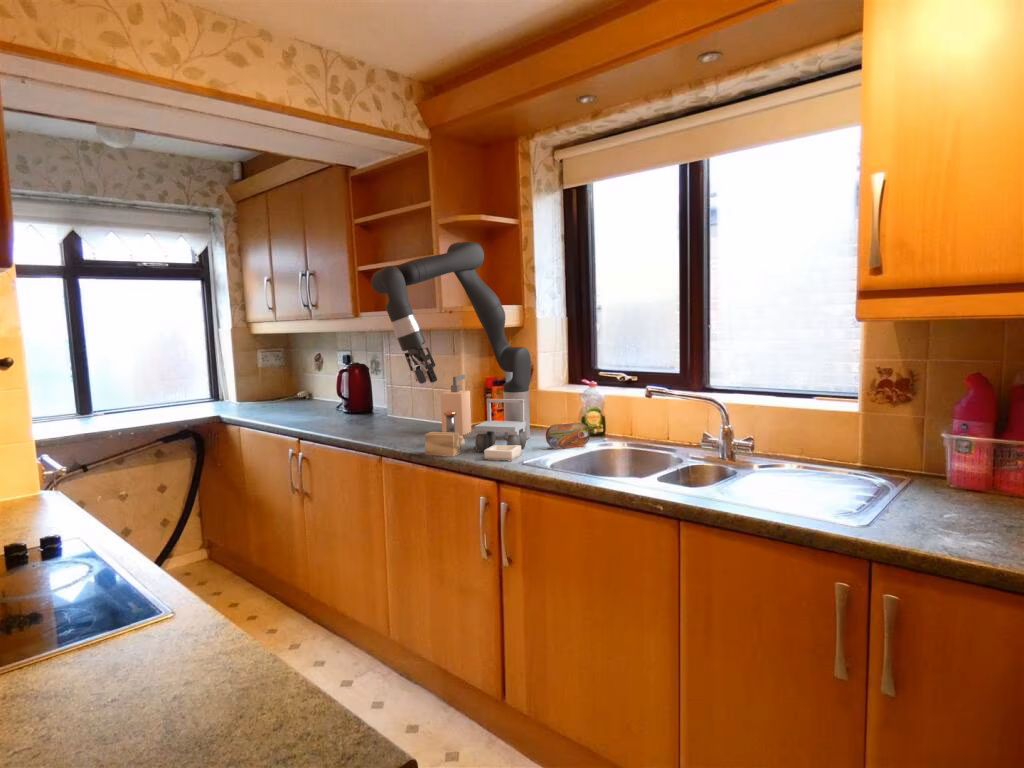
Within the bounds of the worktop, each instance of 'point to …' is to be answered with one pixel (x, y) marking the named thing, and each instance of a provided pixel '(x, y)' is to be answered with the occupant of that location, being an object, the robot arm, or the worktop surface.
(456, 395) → the soap dispenser
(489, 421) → the trolley
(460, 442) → the pin block
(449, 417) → the pin
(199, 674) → the worktop surface
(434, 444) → the block
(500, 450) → the tray
